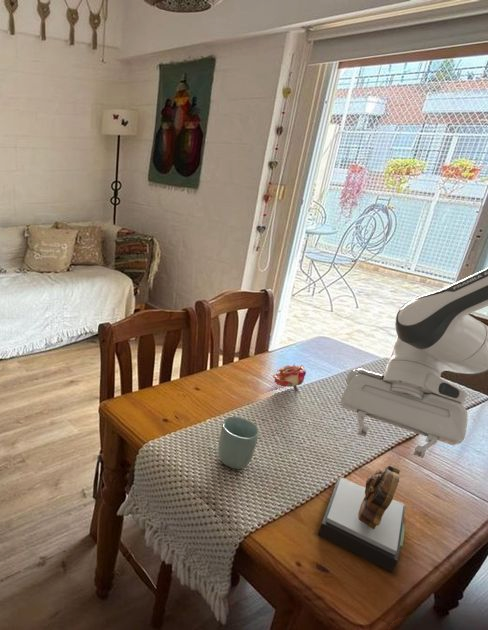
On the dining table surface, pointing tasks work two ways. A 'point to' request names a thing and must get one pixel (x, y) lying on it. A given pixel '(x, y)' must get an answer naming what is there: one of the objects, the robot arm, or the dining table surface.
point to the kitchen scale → (363, 526)
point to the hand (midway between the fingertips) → (389, 445)
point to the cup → (237, 442)
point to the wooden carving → (378, 495)
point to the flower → (290, 376)
